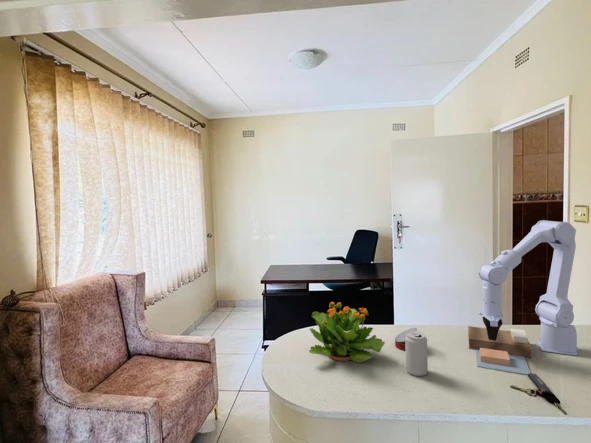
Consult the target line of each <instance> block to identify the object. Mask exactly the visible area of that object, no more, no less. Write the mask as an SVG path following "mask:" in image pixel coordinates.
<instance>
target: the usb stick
mask: <svg viewBox="0 0 591 443" xmlns="http://www.w3.org/2000/svg"><path fill="white" fill-rule="evenodd" d="M527 377H528V378H529V380H530V381H531V383H533V385H534V386H535V387H536V388H537V389H538V390H539V389H542V390H545V391H547V392H549V393H551V394H552V395H553V392H552V390H551V389H550V388H549V387H548V386H547V384H546V383H544V382H543V380H542V379H541V378H540V377H539V376H538V375H537V374H536V373H532V372H530V373H529V374H528V375H527Z"/></svg>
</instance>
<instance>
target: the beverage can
mask: <svg viewBox="0 0 591 443" xmlns="http://www.w3.org/2000/svg"><path fill="white" fill-rule="evenodd" d="M404 352H405V370H406V371H407V372H408V373H409V374H410V375H412V376H415V377H423V376H425V375H426V374H428V370H429V369H428V368H429V366H428V365H429V364H428V363H429V362H428V359H429V358H428V339H427V336H426V334H425V332H421V331H418V330H417V331H410V332H407V333H406V337H405V351H404Z"/></svg>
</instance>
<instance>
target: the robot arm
mask: <svg viewBox="0 0 591 443" xmlns="http://www.w3.org/2000/svg"><path fill="white" fill-rule="evenodd" d="M576 233H577V229H576V228H575V227H574V226H573V225H572V224H571V223H570V222H568V221H556V220H555V221H553V220H545V219H541V220H539V221H537V223H535V224H534V225H533V226H532V227H531V229H530V232H528V234H527V235H526V236H524V238H523V239H522V240H520V242H519V243H517V244H516V245H515V246H514V247H513V248H512V249H506V250H502V251H501V252H500V255H498V256H497V257H496V258H495V259H494V260H491V261H489V262H490V263H489V264H485V265H483V266H482V267H481V268H480V270H479V271H478V273H477V274H478V277H479V278H480V279H481V284H482V311H481V310H478V315H480V316H482V322H483V324H484V326H485V328H486V329H487V334H488V339H489V340H493V341H496V339H497V335H498V331H499V330H501V329H500V328H501V327H502V325H503V320H502V319H503V317H504V314H503V284H504V283H505V282H506V281H507V278H508V275H509V274H510V272H511V271H513V270H514V269H515V268H516V267H517V266H519V264H521V263H522V257H523V256H525V255H526V254H527V253H528V252H530V251H531V250H533V249H534V248H535V247H537V246H538V245H539V244H541V243H548V244H549V245H550V246H551V247H552V248H553V254H552V261H551V266H550V270H549V277H548V282H547V286H546V287H547V289H546V293H545V294H542V295H540V296H539V300H538V302H537V304H535V308H534V310H535V314H536V315H537V316H538V318H539V319H538V320H540V340H536V343H537V344H538V346H539V348H540V349H541V351H542V352H547V353H554V354H563V355H570V356H578V353H577V350H578V349H577V348H578V347H577V344H578V341H577V340H578V339H577V337H578V333H577V329H576V326H575V325H573V324H572V323H573V322H574V319H575V314H574V310H573V309H574V305H573V304H572V302H571V301H570V300H569V299H568V293H569V287H570V283H571V277H572V276H571V275H572V270H573V264H574V259H575V253H576V249H577V244H576V239H575V238H576Z"/></svg>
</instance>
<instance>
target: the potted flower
mask: <svg viewBox="0 0 591 443" xmlns="http://www.w3.org/2000/svg"><path fill="white" fill-rule="evenodd" d="M328 307H329V309H328V310H327V313H324V312H319V311H313V312H312V313H311V317H312V319H314V320H315V324H316V325H317V326H318V330H319V331H317V330H316V329H314V328H312V327H310V328H309V331H310V332H311V334H312V335H313V337H314V338H315V339H316V340H317V341H318V342H320V343H322V344H323V346H322V345H319V344H314V345H313V346H310V350H308V352H309V353H311V354H313V355H324V356H325V355H326V356H328V358H329V359H332V360H334V361H341V362H343V361H344V362H345V361H351V360H352V361H353V362H354V363H363V362H365V361H368V360H369V359H371V358H373V354H372V353H370V351H367V350H373V351H374V352H377V353H380V352H381V350H382V349H383V347H384V345H385V344H386V342H385V341H383V339H382V338H377V335H375V334H374V335H372V336H371V335H370V334H371V333H372V332H373V329H374V327H370V326H369V327H368V328H367V326H366V325H364V321H365V320H366V317H367V316H369V311H368V310H367V308H364V307H359V308H358V311H357V309H355V308H350V307H349V306H344V307H343V304H342V303H341V302H337V303H336V304H335V302H334V301H331V302H330V303H329V306H328ZM342 307H343V309H341V308H342ZM337 308H338V309H339V312H338V311H337ZM360 324H361V326H360ZM369 336H371V337H369ZM368 337H369V338H368Z"/></svg>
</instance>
